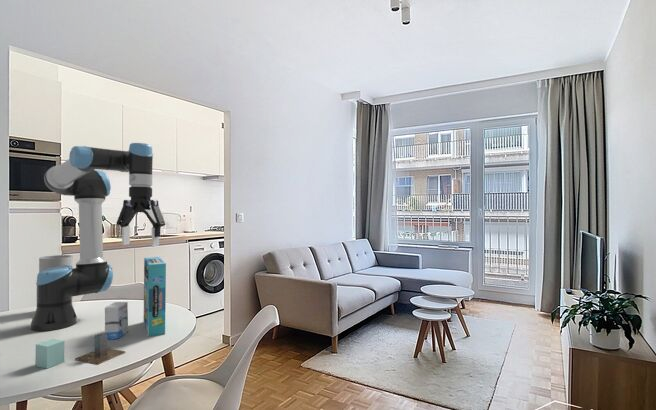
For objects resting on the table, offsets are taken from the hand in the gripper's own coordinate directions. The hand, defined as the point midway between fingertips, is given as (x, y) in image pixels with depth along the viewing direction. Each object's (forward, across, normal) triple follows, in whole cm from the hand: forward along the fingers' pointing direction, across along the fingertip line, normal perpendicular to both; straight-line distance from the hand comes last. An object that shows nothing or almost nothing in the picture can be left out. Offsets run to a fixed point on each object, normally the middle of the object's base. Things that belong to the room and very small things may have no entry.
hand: (140, 245), depth 136 cm
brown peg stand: (+35, -1, -15) cm, 38 cm away
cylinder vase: (+35, -67, +16) cm, 77 cm away
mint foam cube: (+35, -10, -24) cm, 44 cm away
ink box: (+35, -13, +2) cm, 37 cm away
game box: (+35, -7, +14) cm, 38 cm away
